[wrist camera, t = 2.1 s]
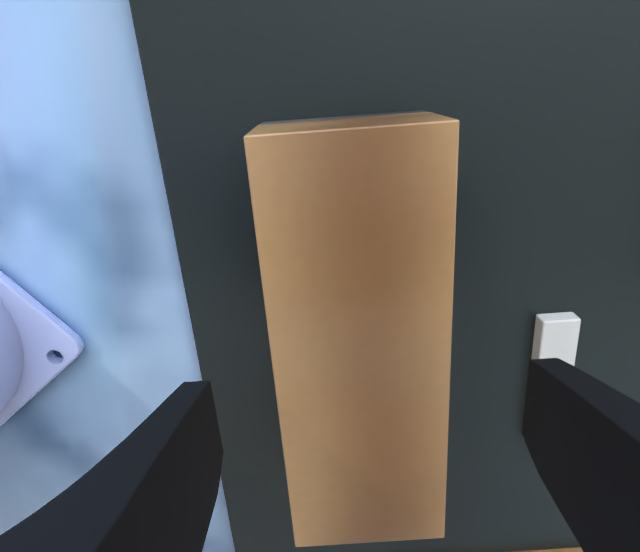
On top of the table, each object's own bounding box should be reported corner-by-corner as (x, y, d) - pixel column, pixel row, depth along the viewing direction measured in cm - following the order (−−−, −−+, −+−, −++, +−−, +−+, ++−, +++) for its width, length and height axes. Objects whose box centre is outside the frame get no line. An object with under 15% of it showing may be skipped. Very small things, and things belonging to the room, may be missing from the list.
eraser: (298, 462, 18) (295, 548, 15) (260, 122, 13) (242, 135, 10) (420, 454, 18) (444, 538, 14) (424, 109, 13) (460, 118, 10)
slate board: (244, 568, 21) (240, 595, 20) (109, -150, 12) (88, -174, 10) (709, 539, 21) (731, 565, 20) (954, -220, 11) (1024, -254, 10)
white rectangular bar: (521, 437, 17) (528, 448, 17) (535, 313, 16) (543, 321, 15) (555, 434, 17) (563, 446, 17) (572, 310, 16) (582, 319, 15)
